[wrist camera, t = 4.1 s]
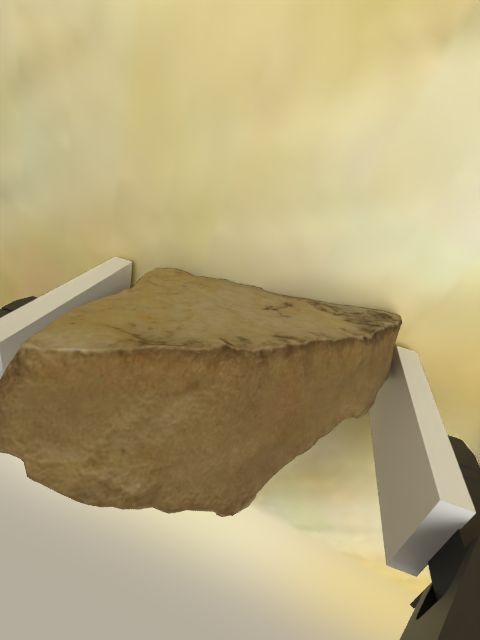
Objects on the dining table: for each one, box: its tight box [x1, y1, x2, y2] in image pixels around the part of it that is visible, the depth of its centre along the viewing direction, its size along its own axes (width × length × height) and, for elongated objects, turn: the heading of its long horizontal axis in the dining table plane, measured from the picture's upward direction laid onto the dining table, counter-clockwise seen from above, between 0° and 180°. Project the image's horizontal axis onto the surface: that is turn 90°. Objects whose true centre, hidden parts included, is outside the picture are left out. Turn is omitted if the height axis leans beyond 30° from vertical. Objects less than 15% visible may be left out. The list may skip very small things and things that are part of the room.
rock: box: [0, 268, 402, 517], centre depth 12 cm, size 11×9×10 cm
